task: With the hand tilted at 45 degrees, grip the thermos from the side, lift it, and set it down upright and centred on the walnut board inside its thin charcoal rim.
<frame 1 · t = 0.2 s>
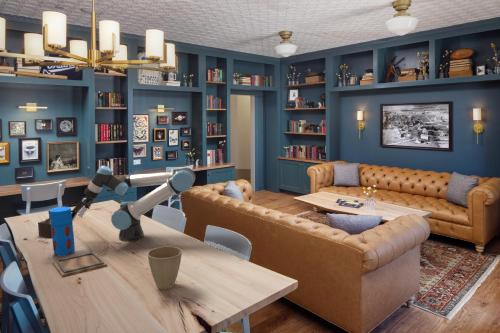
hand: (74, 219, 220), 16 cm above the table, tool tilted 35°, fingers open, 13 cm apart
manual coffee grinder: (55, 234, 243), on the table
thermos: (64, 252, 209), on the table, touching gripper
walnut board: (79, 265, 192), on the table
plant pot: (165, 286, 168), on the table
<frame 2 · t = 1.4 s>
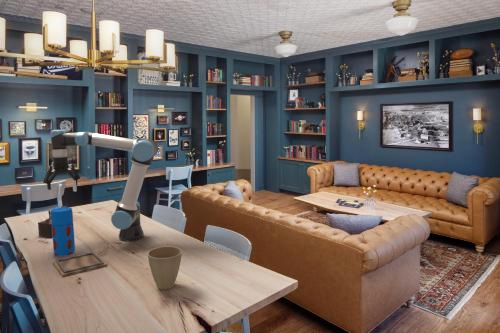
hand: (63, 193, 216), 32 cm above the table, tool pointing down, fingers open, 13 cm apart
thermos: (64, 253, 209), on the table
everything else where it was.
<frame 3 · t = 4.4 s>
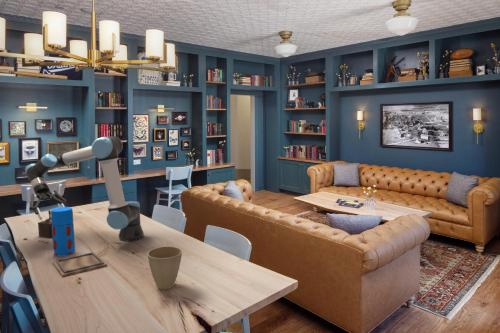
hand: (53, 215, 212), 20 cm above the table, tool tilted 45°, fingers open, 13 cm apart
nothing on the table moved.
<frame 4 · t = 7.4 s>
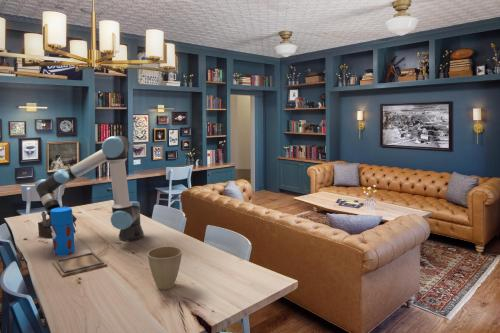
hand: (65, 234, 206), 11 cm above the table, tool tilted 45°, fingers closed on thermos, 11 cm apart
thermos: (64, 252, 209), on the table, touching gripper
everything else where it was.
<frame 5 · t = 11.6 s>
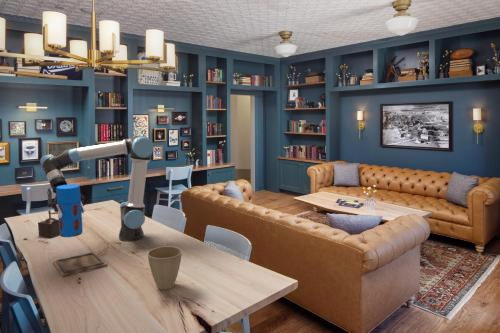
hand: (72, 214, 189), 27 cm above the table, tool tilted 45°, fingers closed on thermos, 11 cm apart
thermos: (71, 234, 193), point 15 cm above the table, touching gripper
everything else where it was.
when the fingers open (14 cm above the table, at t = 16.0 s): thermos drops 1 cm, resting on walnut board.
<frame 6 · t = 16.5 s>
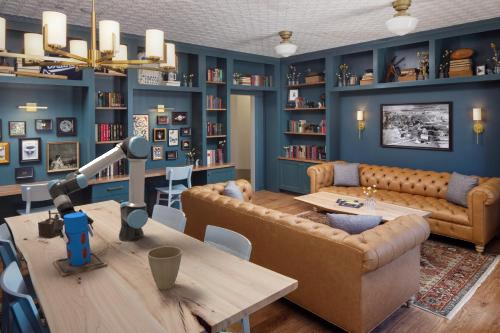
hand: (80, 238, 188), 14 cm above the table, tool tilted 45°, fingers open, 13 cm apart
thermos: (79, 262, 192), point 1 cm above the table, touching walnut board
everything else where it was.
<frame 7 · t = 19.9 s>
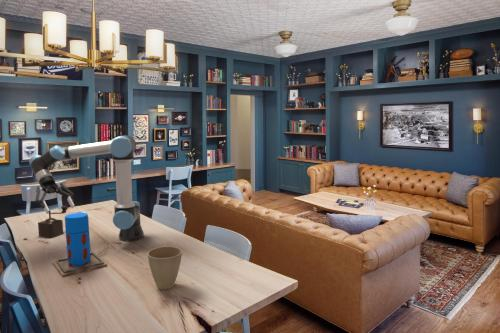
hand: (60, 209, 202), 26 cm above the table, tool tilted 45°, fingers open, 13 cm apart
nothing on the table moved.
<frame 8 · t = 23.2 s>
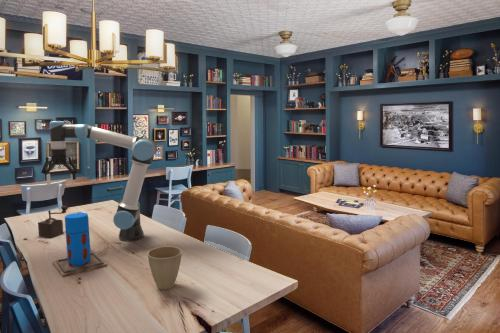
hand: (61, 185, 214), 37 cm above the table, tool pointing down, fingers open, 13 cm apart
nothing on the table moved.
at the end: thermos 0.4 cm off-centre on the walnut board, point 1.0 cm above the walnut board's base; thermos tilted 0°; the gripper is holding nothing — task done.
